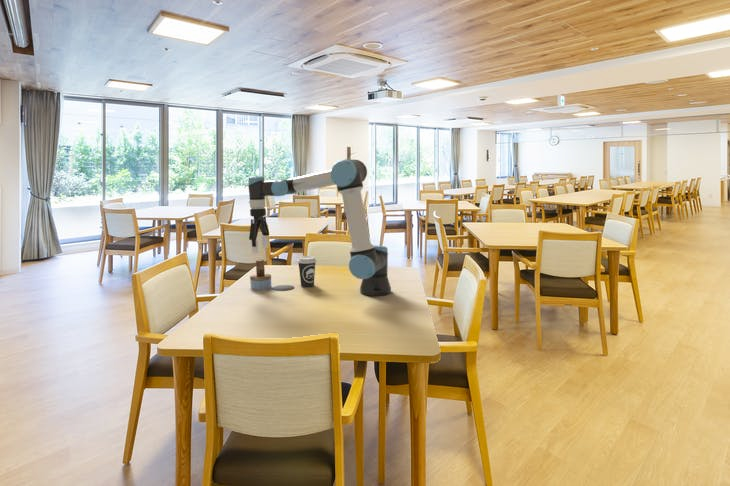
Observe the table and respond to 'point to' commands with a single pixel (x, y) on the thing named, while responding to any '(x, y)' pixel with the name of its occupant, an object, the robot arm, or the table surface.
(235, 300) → the table surface
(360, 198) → the robot arm
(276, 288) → the mat
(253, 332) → the table surface
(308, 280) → the coffee cup
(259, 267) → the lid
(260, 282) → the bowl
